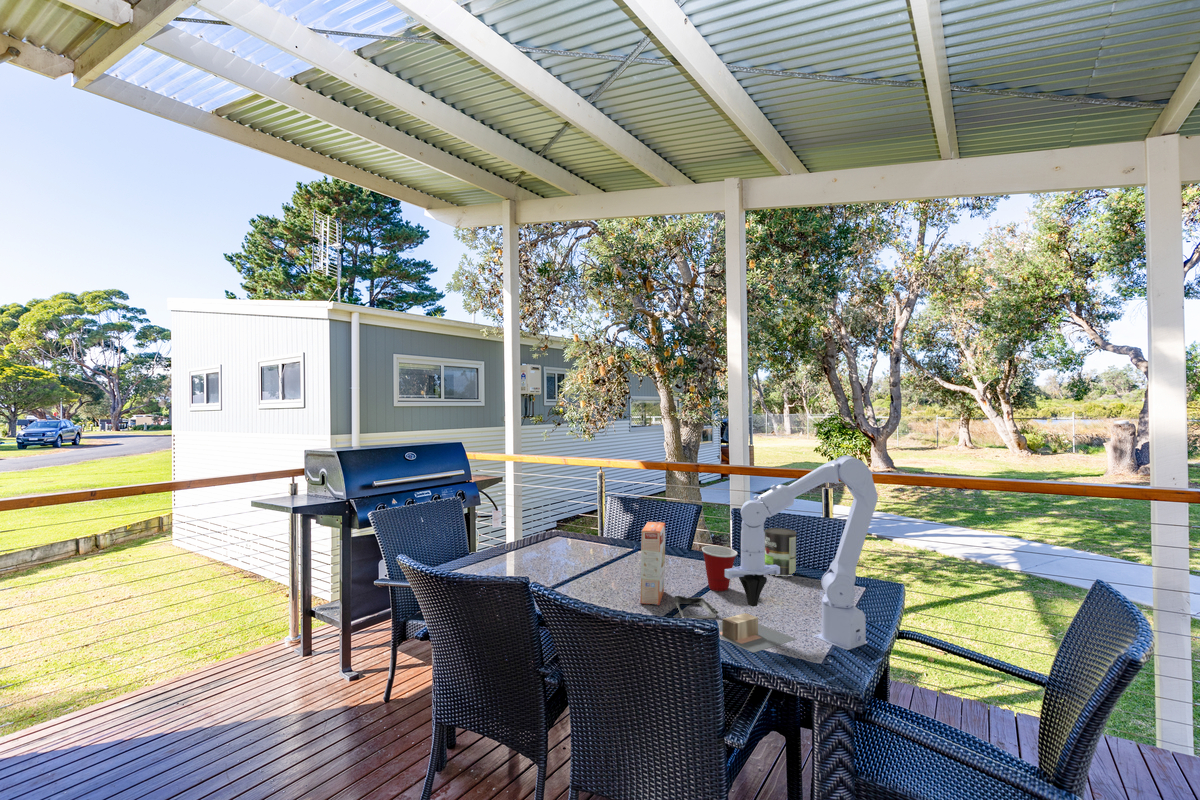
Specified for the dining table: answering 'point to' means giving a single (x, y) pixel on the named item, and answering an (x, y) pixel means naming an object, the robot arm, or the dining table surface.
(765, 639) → the rubber mat
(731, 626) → the maple block
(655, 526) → the cracker box
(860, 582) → the dining table surface
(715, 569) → the plastic cup
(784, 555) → the coffee can
